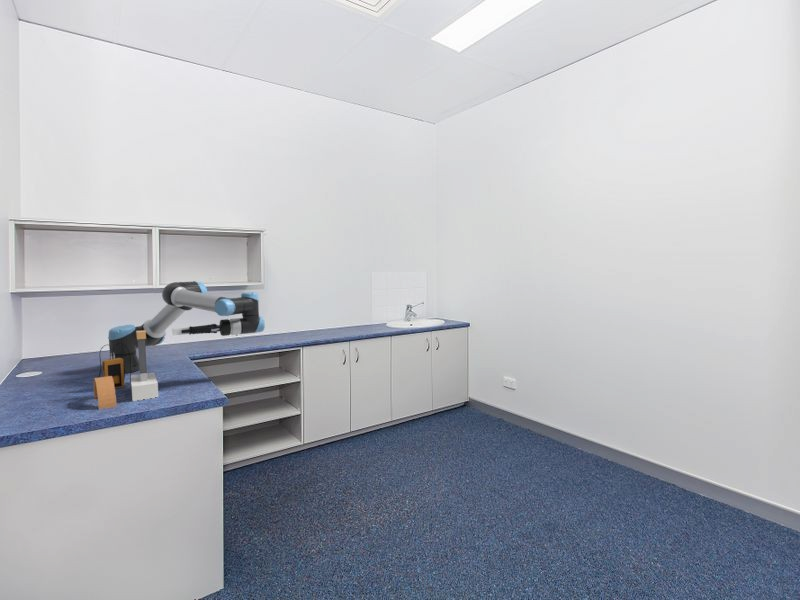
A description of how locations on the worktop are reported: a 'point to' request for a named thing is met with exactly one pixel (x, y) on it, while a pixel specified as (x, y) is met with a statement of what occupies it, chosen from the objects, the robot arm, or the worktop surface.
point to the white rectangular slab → (144, 386)
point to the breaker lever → (142, 351)
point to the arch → (105, 392)
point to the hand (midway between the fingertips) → (172, 332)
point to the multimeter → (115, 369)
